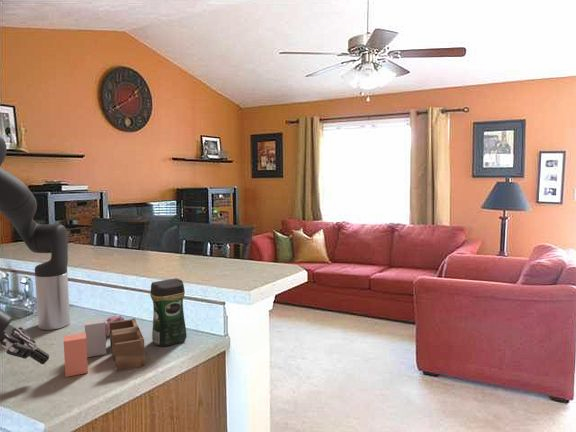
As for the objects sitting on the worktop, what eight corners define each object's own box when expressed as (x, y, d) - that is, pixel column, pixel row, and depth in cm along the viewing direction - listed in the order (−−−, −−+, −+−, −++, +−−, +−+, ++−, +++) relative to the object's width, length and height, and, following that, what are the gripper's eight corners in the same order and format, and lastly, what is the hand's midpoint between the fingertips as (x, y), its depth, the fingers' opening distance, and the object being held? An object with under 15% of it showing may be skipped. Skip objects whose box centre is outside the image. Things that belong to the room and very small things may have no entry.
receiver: (110, 345, 127) (109, 322, 126) (135, 341, 130) (134, 318, 129) (116, 371, 111) (115, 344, 110) (145, 365, 114) (144, 339, 113)
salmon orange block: (65, 370, 111) (63, 336, 110) (87, 366, 113) (85, 332, 112) (65, 376, 108) (63, 341, 107) (87, 372, 110) (86, 338, 109)
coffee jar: (179, 333, 137) (177, 274, 135) (190, 341, 130) (188, 280, 128) (148, 340, 131) (146, 279, 129) (158, 349, 124) (156, 285, 122)
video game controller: (101, 346, 131) (110, 326, 129) (89, 338, 131) (97, 318, 130) (120, 333, 140) (128, 315, 139) (108, 326, 141) (116, 308, 140)
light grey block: (86, 351, 122) (84, 320, 121) (105, 348, 125) (103, 317, 124) (86, 357, 119) (84, 325, 118) (106, 353, 121) (104, 322, 120)
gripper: (-9, 314, 95) (57, 358, 102) (-1, 298, 107) (58, 338, 114) (-37, 342, 94) (32, 384, 100) (-26, 323, 105) (36, 362, 112)
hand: (46, 360), depth 107 cm, fingers closed
